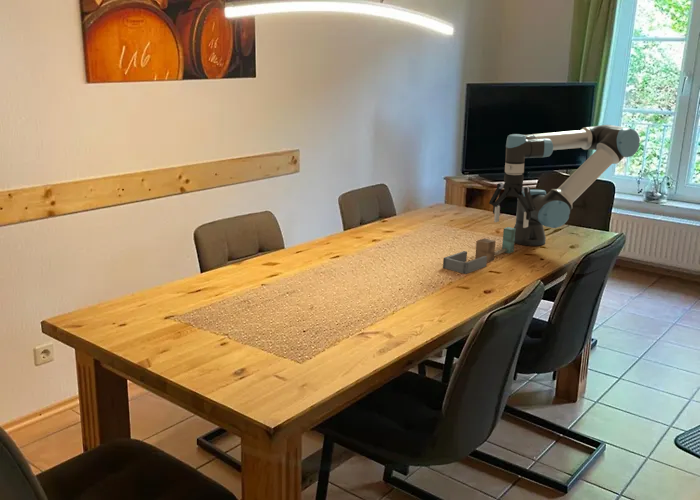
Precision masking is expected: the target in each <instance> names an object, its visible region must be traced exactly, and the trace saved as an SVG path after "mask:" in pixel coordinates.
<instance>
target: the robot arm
mask: <svg viewBox="0 0 700 500" xmlns="http://www.w3.org/2000/svg"><path fill="white" fill-rule="evenodd" d="M640 139H641V138H640V136H639V134H638V132H637V131H636V130H635V129H634V128H630V127H628V126H618V125H613V124H601V125H593V126H585V127H582V128H581V129H580V130H579V129H578V130H565V131H556V132H555V131H554V132H543V133H532V134H520V133H512V134H509V135H507V138H506V143H505V163H504V164H505V165H504V175H503V176H504V177H503V182H504V183H503V182H499V183H497V184H496V189H495V191H494V192H493V194H492V197H491V199H490V200H489V202H488V204H489V205H492V214H494V216H493V219H494V220H493V222H494V223H497V222H500V216H501V215H500V212H501V211H500V210H501V206H500V204H501V203H502V202H503V200H505V198H506V197H514V198H515V197H516V200H517V203H516V215H515V223H514V226H513V228H515V229H516V230H515V241H514V244H516V245H523V246H542V245H543V246H544V245H545V244H546V240H547V239H546V238H547V237H546V233H545V228H544V227H546V228H552V229H554V228H555V229H558V228H560V227H562V226H563V225H565V224H566V223H567V222H568V221H569V218H570V214H571V210H572V209H573V203H574V202H575V201H577V199H578V198H579V197H580V196H582V194H583V193H584V192H586V190H587V189H588V188H589V187H590V186H591V185H593V183H594V182H596V180H597V179H598V178H600V176H601V175H602V174H603V173H604V172H605V171H607V169H608V168H610V166H611V165H612V164H613V165H614V164H616V165H617V164H619V163H620V162H621V160H623V159H624V158H631V157H633V156H635V154H636V153H637V152H638V150H639V148H640V141H641V140H640ZM580 148H581V149H582V150H585V151H587V150H594V152H593V153H592V154H591V155H590V156H589V157H588V158H587V159H586V160H585V161H584V162H583V163H582V164H581V165H580V166H579V167H578V168H577V169H576V170H575V171H574V172H572V174H571V175H570V176H569V177H567V179H566V180H565V181H564V182H563V183H562V184H561V185H560V186H559V187H558V188H551V189H550V191H548V193H547V191H546V190H545V189H531V187H530V186H525V187H524V186H523V184H524V176H525V175H524V173H525V159H532V158H533V159H535V158H536V159H537V158H547V157H548V158H549V157H550V156H551V155H552V154H553V152H554V151H557V150H568V149H569V150H570V149H580ZM502 190H504V191H503V192H502V193H501V191H502ZM500 193H501V195H500Z"/></svg>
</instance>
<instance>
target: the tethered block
mask: <svg viewBox="0 0 700 500" xmlns="http://www.w3.org/2000/svg"><path fill="white" fill-rule="evenodd" d="M515 230H516V229H515V228H514V227H510V226H507V227H504V228H503V234H502V244H501V245H502V246H501V248H502V249H499V250H496V240H495V239H491V238H490V239H489V238H486V237H485V238H482V239H478V240H476V242H475V243H476V244H475V256H474V257H475V258H474V259H477V258H480V257H482V256H487V263H489V262H492V261H493V262H494V261H495V256H498V255H499V254H502V253H506V254H511V253H513V252H515V243H514V241H515Z"/></svg>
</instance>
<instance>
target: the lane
mask: <svg viewBox="0 0 700 500" xmlns="http://www.w3.org/2000/svg"><path fill="white" fill-rule="evenodd" d="M467 256H468V251H466V250H463V251H461V252H456V253H455V254H452V255H448V256H444V257H443V259H442V260H443V261H442V268H443V269H445V270H448V271H453V272H457V273H460V274H465V275H467V274H469V273H472V272H474V271H478V270H480V269H483V268H486V267H487V263H488V262H487V256H482V257H480V258H477V259H475V258H474V259H472V260H469V261H467V258H468V257H467Z"/></svg>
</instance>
